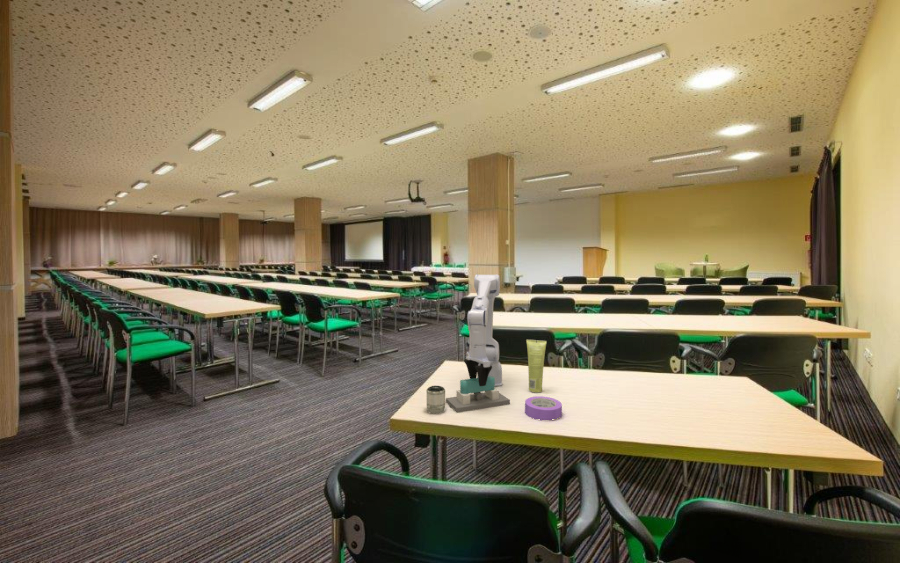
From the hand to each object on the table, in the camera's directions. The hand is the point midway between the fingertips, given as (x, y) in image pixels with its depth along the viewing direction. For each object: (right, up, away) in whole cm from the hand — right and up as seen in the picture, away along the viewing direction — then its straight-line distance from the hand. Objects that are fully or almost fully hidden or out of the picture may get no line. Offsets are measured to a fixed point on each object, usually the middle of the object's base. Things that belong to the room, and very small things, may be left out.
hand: (477, 382), depth 136 cm
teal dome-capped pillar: (0, -3, 0) cm, 3 cm away
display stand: (0, -7, 0) cm, 7 cm away
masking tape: (+21, -8, -9) cm, 24 cm away
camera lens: (-14, -8, -6) cm, 17 cm away
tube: (+23, -7, +13) cm, 27 cm away
